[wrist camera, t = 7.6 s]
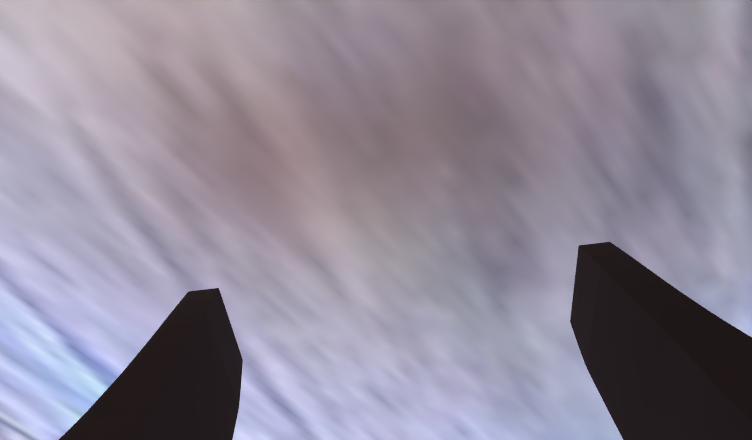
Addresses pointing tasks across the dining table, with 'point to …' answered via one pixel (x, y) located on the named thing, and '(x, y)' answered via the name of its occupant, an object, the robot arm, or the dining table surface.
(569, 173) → the dining table surface
